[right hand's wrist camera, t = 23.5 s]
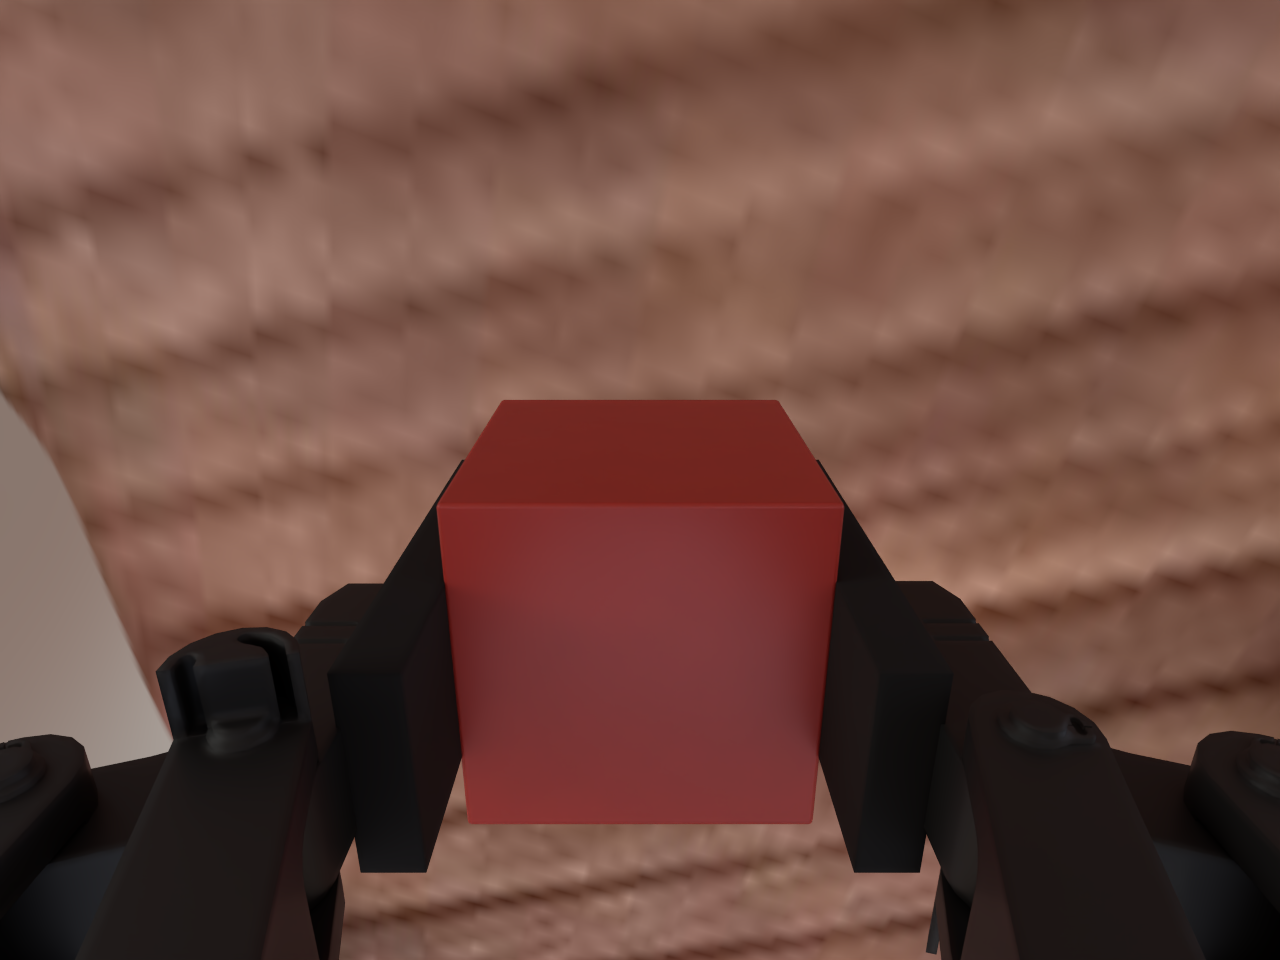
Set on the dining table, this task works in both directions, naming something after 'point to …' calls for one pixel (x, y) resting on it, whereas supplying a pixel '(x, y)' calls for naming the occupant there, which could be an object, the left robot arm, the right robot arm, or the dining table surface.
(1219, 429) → the dining table surface
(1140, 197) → the dining table surface
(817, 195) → the dining table surface
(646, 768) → the block
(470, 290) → the dining table surface
